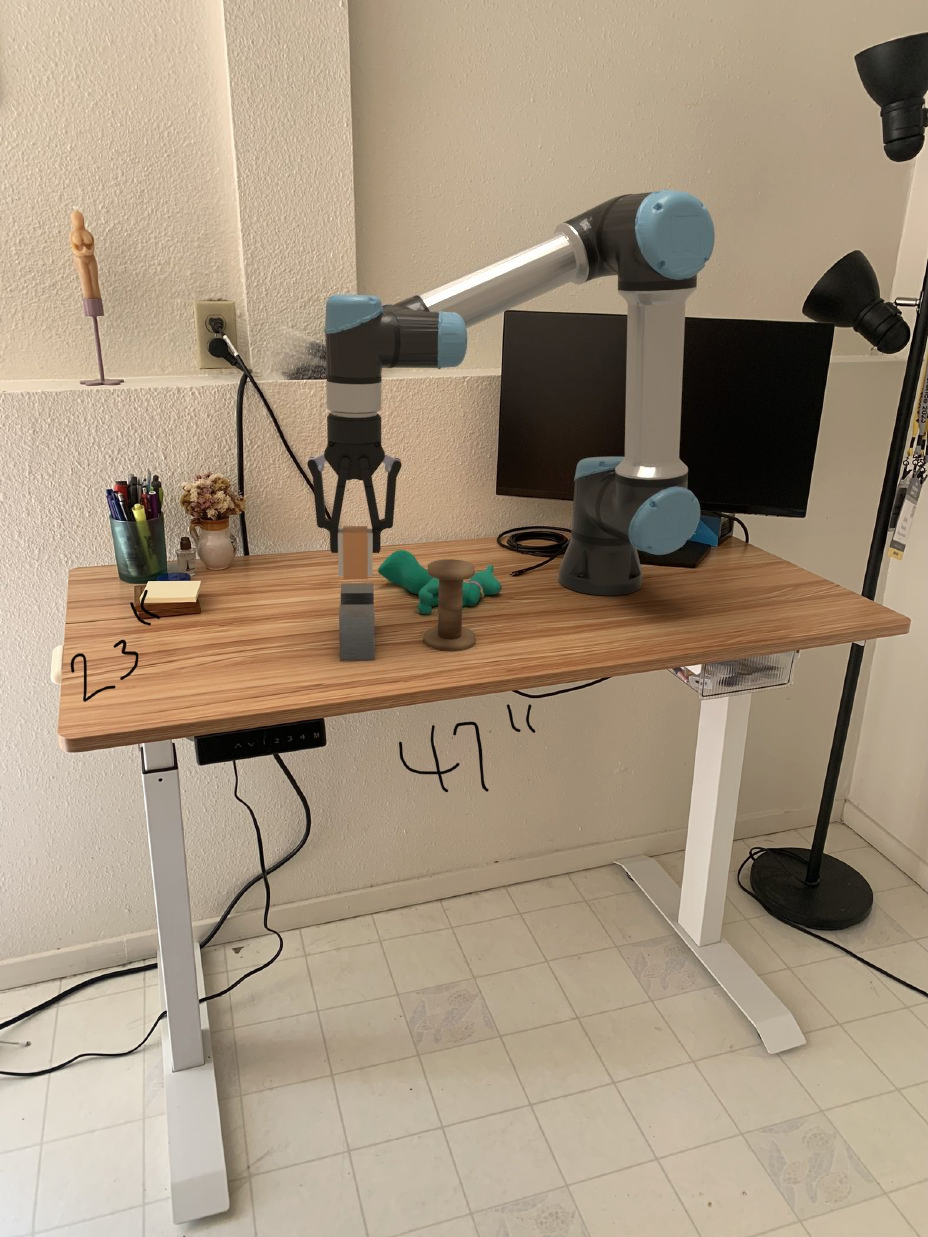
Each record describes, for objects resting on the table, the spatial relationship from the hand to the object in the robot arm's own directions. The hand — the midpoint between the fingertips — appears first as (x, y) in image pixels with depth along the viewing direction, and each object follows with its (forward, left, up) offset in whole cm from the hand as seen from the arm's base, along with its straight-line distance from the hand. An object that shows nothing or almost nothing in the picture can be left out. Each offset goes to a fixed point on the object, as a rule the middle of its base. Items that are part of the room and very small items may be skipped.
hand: (355, 573), depth 137 cm
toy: (-14, -21, -12) cm, 27 cm away
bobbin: (-14, 0, -11) cm, 18 cm away
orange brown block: (0, 0, 0) cm, 0 cm away
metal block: (0, 0, -11) cm, 11 cm away
